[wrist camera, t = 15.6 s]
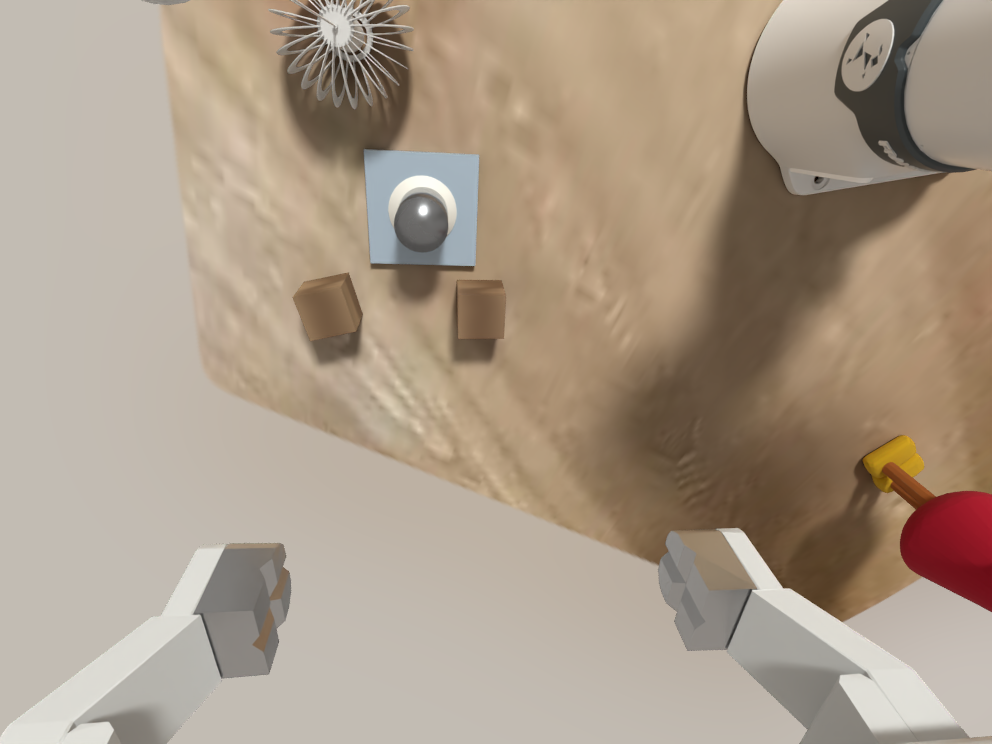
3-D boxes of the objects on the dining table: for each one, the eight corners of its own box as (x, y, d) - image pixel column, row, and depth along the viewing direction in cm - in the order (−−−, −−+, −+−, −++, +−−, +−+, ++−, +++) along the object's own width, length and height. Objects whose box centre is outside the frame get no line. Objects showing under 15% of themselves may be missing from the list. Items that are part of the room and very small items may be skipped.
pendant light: (364, 136, 40) (219, 214, 14) (256, 38, 37) (-212, -102, 10) (442, 32, 38) (442, -111, 11) (333, -84, 34) (-36, -688, 8)
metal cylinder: (447, 237, 44) (448, 253, 39) (399, 235, 43) (394, 251, 39) (447, 187, 42) (448, 199, 38) (397, 185, 42) (392, 196, 37)
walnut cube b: (348, 272, 45) (340, 287, 42) (362, 313, 47) (356, 331, 44) (304, 281, 45) (292, 297, 42) (320, 322, 47) (310, 341, 44)
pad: (478, 154, 42) (479, 155, 41) (474, 264, 46) (475, 266, 45) (364, 149, 41) (363, 149, 40) (371, 261, 45) (370, 263, 44)
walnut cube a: (501, 280, 47) (505, 295, 43) (499, 320, 49) (503, 338, 45) (457, 279, 47) (458, 295, 43) (457, 321, 48) (458, 338, 45)
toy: (948, 503, 66) (1281, 772, 40) (869, 546, 69) (1133, 825, 43) (882, 366, 55) (1281, 614, 29) (790, 424, 58) (1081, 699, 32)
